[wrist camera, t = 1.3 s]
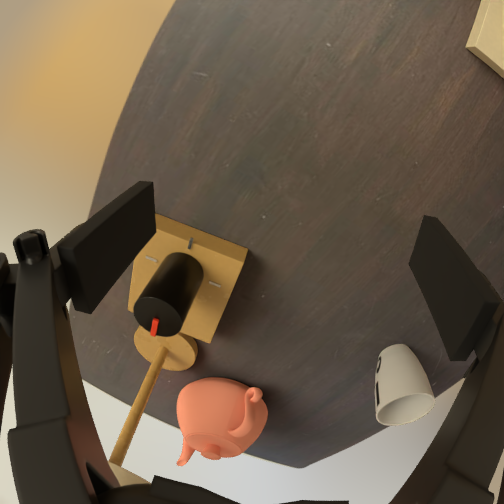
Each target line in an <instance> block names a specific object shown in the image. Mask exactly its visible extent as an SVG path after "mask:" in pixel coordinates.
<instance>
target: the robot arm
mask: <svg viewBox="0 0 504 504" xmlns="http://www.w3.org/2000/svg"><path fill="white" fill-rule="evenodd" d="M156 232H157V231H156V219H155V204H154V188H153V182H146V181H139V182H137V183H136V184H135V185H133V186H132V187H131V188H129V189H128V190H126V191H125V192H124V193H122V194H121V195H120V196H118V197H117V198H116V199H114V200H113V201H112V202H110V203H109V204H108V205H106V206H105V207H104V208H102V209H101V210H100V211H99V212H97V213H96V214H95V215H94V216H92V217H91V218H90V219H89V220H87V221H86V222H85V223H82V224H81V225H78V226H76V227H75V228H74V229H73V230H72V231H71V232H70V233H68V234H67V235H66V236H64V238H62V239H61V240H60V241H58V242H57V243H56V244H55V245H54V246H53V247H51V248H50V249H49V247H48V243H47V239H46V235H45V232H44V231H43V230H41V229H40V230H39V229H35V230H29V231H27V232H24V233H22V234H20V235H18V236H17V237H16V238H15V239H14V241H13V246H14V249H15V252H16V255H17V259H18V262H19V264H9V263H8V260H7V257H6V255H5V254H4V253H0V432H1V425H2V418H3V411H4V404H5V399H6V393H7V388H8V382H9V378H10V373H11V368H12V364H13V386H14V400H15V412H16V420H17V426H16V428H14V429H10V430H9V432H8V448H9V455H10V461H11V466H12V472H13V477H14V482H15V486H16V491H17V495H18V500H19V503H20V504H240V503H238V502H235V501H232V500H230V499H228V498H225V497H223V496H220V495H218V494H216V493H213V492H211V491H209V490H207V489H204V488H202V487H199V486H194V485H190V484H186V483H182V482H178V481H174V480H171V479H167V478H163V477H160V476H156V475H154V478H153V481H152V484H149V483H143V484H131V485H124V486H120V483H119V482H118V480H117V478H116V476H115V474H114V473H113V471H112V469H111V468H110V466H109V464H108V461H107V459H106V456H105V453H104V451H103V448H102V445H101V442H100V439H99V437H98V434H97V430H96V427H95V424H94V421H93V418H92V415H91V412H90V408H89V404H88V401H87V397H86V394H85V390H84V386H83V382H82V378H81V374H80V370H79V365H78V361H77V356H76V352H75V347H74V342H73V336H72V331H71V325H70V319H69V313H68V309H67V306H66V303H67V302H68V301H69V299H70V298H71V299H72V302H73V305H74V308H75V310H77V311H80V312H84V313H88V314H92V312H93V311H94V310H95V308H96V307H97V306H98V304H99V303H100V302H101V300H102V299H103V298H104V296H105V295H106V294H107V293H108V291H109V290H110V289H111V287H112V286H113V285H114V284H115V282H116V281H117V280H118V278H119V277H120V276H121V275H122V273H123V272H124V271H125V270H126V269H127V267H128V266H129V265H130V264H131V262H132V261H133V260H134V259H135V257H136V256H137V255H138V254H139V253H140V251H141V250H142V249H143V248H144V247H145V245H146V244H147V243H148V242H149V241H150V239H151V238H152V237H153V236H154V235H155V234H156ZM409 266H410V268H411V270H412V272H413V274H414V276H415V278H416V280H417V282H418V285H419V287H420V289H421V291H422V293H423V295H424V298H425V300H426V302H427V304H428V307H429V309H430V311H431V314H432V316H433V318H434V321H435V323H436V326H437V328H438V331H439V333H440V336H441V338H442V341H443V343H444V346H445V348H446V351H447V354H448V356H449V359H450V361H466V360H467V358H468V357H469V355H470V354H471V352H472V351H473V349H474V351H475V353H476V355H477V357H476V358H475V360H474V361H473V363H472V364H471V366H470V367H469V369H468V370H467V371H466V373H465V374H464V376H463V378H465V377H466V378H465V381H464V383H463V385H462V387H461V389H460V391H459V393H458V396H457V398H456V399H455V401H454V404H453V405H452V407H451V409H450V412H449V413H448V415H447V417H446V419H445V421H444V422H443V424H442V426H441V428H440V430H439V431H438V433H437V435H436V436H435V438H434V440H433V441H432V443H431V445H430V446H429V448H428V449H427V451H426V453H425V454H424V456H423V457H422V459H421V460H420V462H419V464H418V465H417V466H416V468H415V470H414V471H413V473H412V474H411V475H410V477H409V478H408V479H407V481H406V482H405V484H404V485H403V486H402V488H401V489H400V490H399V492H398V493H397V494H396V496H395V497H394V498H393V499H392V501H391V502H390V503H389V504H493V501H494V493H492V492H490V491H488V488H489V485H490V482H491V480H492V477H493V475H494V473H495V470H496V468H497V465H498V463H499V460H500V457H501V455H502V452H503V449H504V302H503V301H502V299H501V298H500V296H499V295H498V293H497V292H495V289H494V288H493V286H491V283H490V282H489V280H488V279H487V278H486V276H485V275H483V274H482V273H481V272H480V271H479V270H478V269H477V268H476V266H475V265H474V264H473V262H472V261H471V260H470V258H469V257H468V256H467V254H466V253H465V252H464V250H463V249H462V248H461V246H460V245H459V244H458V243H457V241H456V240H455V239H454V238H453V236H452V235H451V234H450V233H449V231H448V230H447V229H446V228H445V227H444V225H443V224H442V223H441V222H440V221H439V219H438V218H436V217H431V216H426V215H424V217H423V220H422V224H421V227H420V230H419V234H418V237H417V240H416V243H415V246H414V250H413V253H412V256H411V259H410V262H409ZM281 504H349V501H310V500H300V501H294V502H288V503H281ZM497 504H504V470H503V476H502V482H501V487H500V492H499V497H498V501H497Z"/></svg>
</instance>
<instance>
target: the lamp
mask: <svg viewBox="0 0 504 504" xmlns="http://www.w3.org/2000/svg"><path fill="white" fill-rule="evenodd" d="M134 343H135V346H136V348H137V349H138V351H139V352H140V354H141V355H142V356H143V357H144V358H146V359H147V360H148V361H149V362H151V363H152V364H151V366H150V368H149V370H148V372H147V375H146V377H145V379H144V381H143V383H142V385H141V388H140V390H139V392H138V394H137V397H136V399H135V401H134V403H133V406H132V408H131V410H130V412H129V415H128V417H127V419H126V422H125V424H124V426H123V428H122V431H121V433H120V435H119V438H118V440H117V442H116V445H115V447H114V450H113V452H112V454H111V457H110V459H109V461H108V464H109V466H110V468H111V469H112V471H113V473H114V474H115V476H116V478H117V480H118V482H119V483H120V486H124V485H131V484H143V483H149V484H151V483H150V482H148V481H146V480H145V479H143V478H141V477H139V476H137V475H135V474H134V473H132V472H130V471H128V470H126V469H124V468H121V466H122V463H123V460H124V458H125V455H126V453H127V450H128V448H129V445H130V443H131V440H132V438H133V435H134V433H135V430H136V428H137V426H138V423H139V421H140V418H141V416H142V413H143V411H144V409H145V406H146V404H147V401H148V399H149V397H150V394H151V392H152V389H153V387H154V385H155V382H156V380H157V378H158V375H159V373H160V371H161V368H164V369H167V370H174V371H180V370H185V369H188V368H190V367H191V366H192V365H193V364H194V362H195V359H196V356H197V353H198V347H197V344H196V342H195V340H194V338H193V337H191V336H189V335H186V334H184V333H181V332H179V333H178V334H176V335H174V336H171V337H161V336H157V335H156V336H155V337H153V336H151V335H150V332H148V331H147V330H145V329H144V328H143V327H142V326H141V325H140V326H139V327H138V329H137V331H136V333H135V335H134Z"/></svg>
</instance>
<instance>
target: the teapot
mask: <svg viewBox="0 0 504 504" xmlns="http://www.w3.org/2000/svg"><path fill="white" fill-rule="evenodd" d="M262 395H263V393H262V391H261V389H260V388H257V387H251V388H250V387H248V386H246V385H244V384H242V383H240V382H237V381H234V380H231V379H226V378H220V377H208V378H203V379H200V380H197V381H194V382H192V383H190V384H188V385H186V386H185V387H184V388H183V389H182V390H181V392H180V394H179V397H178V401H177V418H178V422H179V426H180V429H181V432H182V434H183V437H184V439H183V449H182V453H181V456H180V458H179V460H178V461H177V465H178V466H183V465H185V464H186V463H187V462H188V460H189V459H190V457H191V456H192V454H193V453H194V451H195V450H197V451H199V452H201V455H202V456H204V457H205V458H208V459H211V460H219V459H220V458H221V457H226V458H227V457H235V456H238V455H240V454H241V453H242V452H244V451H245V450H246V449H247V448H248V447H249V446H250V445H251V444H252V443H253V442H254V441H255V440H256V439H257V438H258V437H259V435H260V434H261V432H262V430H263V428H264V426H265V424H266V421H267V417H268V410H267V406H266V404H265V403H264V401H263V400H262V399H261V398H262Z"/></svg>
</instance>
